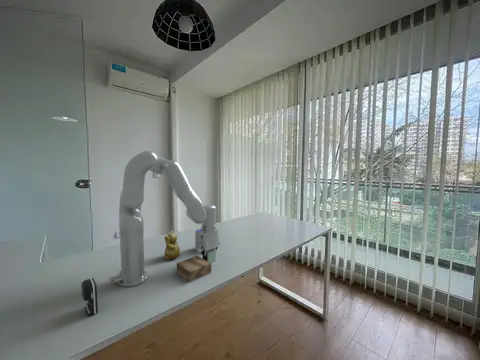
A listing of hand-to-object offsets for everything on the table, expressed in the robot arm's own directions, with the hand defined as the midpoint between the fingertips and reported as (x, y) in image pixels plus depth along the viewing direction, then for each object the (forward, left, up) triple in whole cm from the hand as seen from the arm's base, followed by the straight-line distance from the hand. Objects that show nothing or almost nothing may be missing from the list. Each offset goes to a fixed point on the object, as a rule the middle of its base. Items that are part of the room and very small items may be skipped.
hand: (209, 259), depth 118 cm
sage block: (0, 0, -1) cm, 1 cm away
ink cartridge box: (+7, +14, -1) cm, 16 cm away
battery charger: (-55, -1, -1) cm, 55 cm away
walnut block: (-13, -4, -1) cm, 13 cm away
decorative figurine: (-12, +18, -1) cm, 22 cm away
